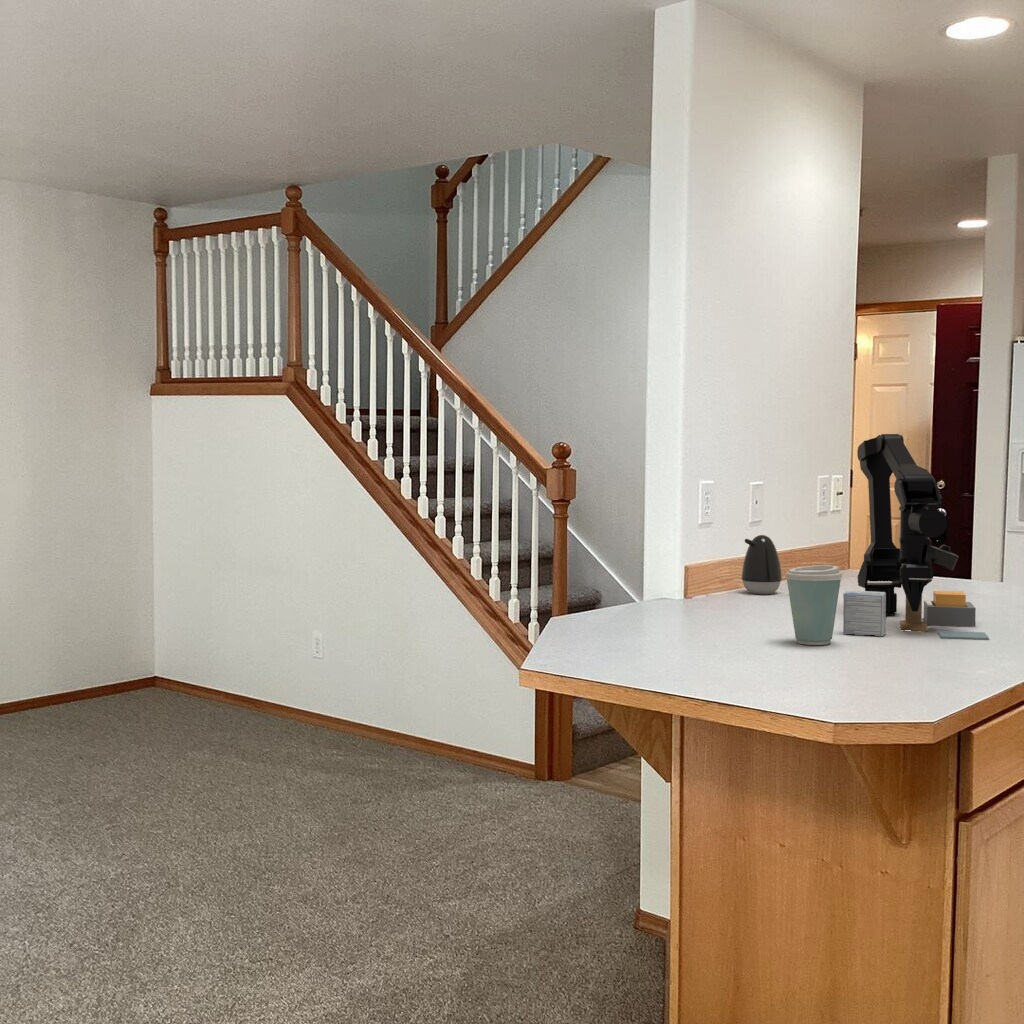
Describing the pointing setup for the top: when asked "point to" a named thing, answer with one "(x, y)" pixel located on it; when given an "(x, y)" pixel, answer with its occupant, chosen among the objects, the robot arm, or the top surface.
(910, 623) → the press tool
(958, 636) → the rubber mat
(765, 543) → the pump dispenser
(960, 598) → the button
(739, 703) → the top surface
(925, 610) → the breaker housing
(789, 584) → the disposable coffee cup
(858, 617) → the medicine box
